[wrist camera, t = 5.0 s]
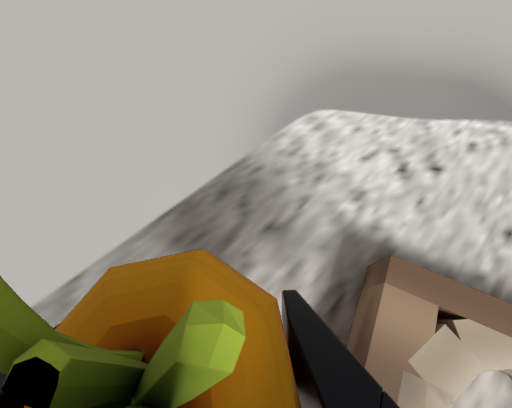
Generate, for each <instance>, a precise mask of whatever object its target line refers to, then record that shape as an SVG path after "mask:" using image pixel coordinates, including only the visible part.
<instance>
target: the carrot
mask: <svg viewBox="0 0 512 408" xmlns="http://www.w3.org/2000/svg"><path fill="white" fill-rule="evenodd" d="M0 372H1V373H3V374H5V375H7V377H6V379H5V382H4V384H3V386H2V388H1V390H2V391H3V392H5V393H6V394H8V395H9V396H11V397H13V398H14V399H16V400H17V401H19V402H20V403H21V404H23V405H24V408H301V404H300V400H299V395H298V391H297V386H296V382H295V377H294V373H293V368H292V364H291V360H290V355H289V351H288V346H287V342H286V337H285V333H284V328H283V324H282V320H281V315H280V311H279V306H278V302H277V299H276V298H275V297H273V296H272V295H271V294H269V293H268V292H266V291H265V290H263V289H262V288H260V287H259V286H257V285H256V284H255V283H253V282H252V281H250V280H249V279H247V278H246V277H244V276H243V275H242V274H240V273H239V272H237V271H236V270H234V269H233V268H231V267H230V266H228V265H227V264H226V263H224V262H223V261H221V260H220V259H218V258H217V257H215V256H214V255H213V254H211V253H210V252H208V251H207V250H205V249H199V250H194V251H189V252H184V253H179V254H174V255H169V256H165V257H160V258H155V259H150V260H145V261H140V262H135V263H131V264H126V265H121V266H116V267H111V268H109V269H108V270H107V272H106V273H105V274H104V275H103V276H102V277H101V278H100V279H99V281H98V282H97V283H96V284H95V285H94V286H93V287H92V288H91V290H90V291H89V292H88V293H87V294H86V295H85V296H84V297H83V299H82V300H81V301H80V302H79V303H78V304H77V305H76V306H75V308H74V309H73V310H72V311H71V312H70V313H69V314H68V315H67V317H66V318H65V319H64V320H63V321H62V322H61V323H60V324H59V326H58V327H57V328H56V329H54V328H52V327H51V326H50V325H49V324H48V323H47V322H46V321H45V320H44V319H42V318H41V317H40V316H39V315H38V314H37V313H36V312H35V311H33V310H32V309H31V308H30V307H29V306H28V305H27V304H26V303H25V302H23V301H22V299H21V298H20V297H19V296H18V295H17V294H16V293H15V292H14V291H13V290H12V288H11V287H10V286H9V285H8V284H7V283H6V282H5V281H4V280H3V279H2V277H1V276H0Z"/></svg>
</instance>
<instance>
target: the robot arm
mask: <svg viewBox="0 0 512 408" xmlns="http://www.w3.org/2000/svg"><path fill="white" fill-rule="evenodd" d="M282 320H283V328H284V333H285V337H286V342H287V346H288V351H289V355H290V360H291V364H292V368H293V373H294V377H295V382H296V386H297V391H298V395H299V400H300V404H301V408H400V407H399V406H398V405H397V403H396V402H395V401H394V400H393V399H392V398H391V397H390V396H389V394H388V393H387V392H386V391H383V388H382V387H381V386H380V384H379V383H378V382H377V381H376V380H375V379H374V378H373V377H372V375H371V374H370V373H369V372H368V371H367V370H366V369H365V367H364V366H363V365H362V364H361V363H360V362H359V361H358V360H357V358H356V357H355V356H354V355H353V354H352V353H351V352H350V351H349V349H348V348H347V347H346V346H345V345H344V344H343V343H342V342H341V340H340V339H339V338H338V337H337V336H336V335H335V334H334V332H333V331H332V330H331V329H330V328H329V327H328V326H327V325H326V323H325V322H324V321H323V320H322V319H321V318H320V317H319V316H318V314H317V313H316V312H315V311H314V310H313V309H312V308H311V307H310V305H309V304H308V303H307V302H306V301H305V300H304V299H303V297H302V296H301V295H300V294H299V293H298V292H297V291H296V290H283V291H282ZM58 326H59V325H57V326H56V327H54V329H56V328H57V327H58ZM6 377H7V375H5V374H3V373H1V372H0V408H24V405H23V404H21V403H20V402H19V401H17V400H16V399H14V398H13V397H11V396H9V395H8V394H6V393H5V392H3V391H2V390H1V388H2V386H3V384H4V382H5V379H6Z"/></svg>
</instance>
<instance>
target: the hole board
mask: <svg viewBox="0 0 512 408" xmlns="http://www.w3.org/2000/svg"><path fill="white" fill-rule="evenodd" d="M347 348H348V349H349V351H350V352H351V353H352V354H353V355H354V356H355V357H356V358H357V360H358V361H359V362H360V363H361V364H362V365H363V366H364V367H365V369H366V370H367V371H368V372H369V373H370V374H371V375H372V377H373V378H374V379H375V380H376V381H377V382H378V383H379V384H380V386H381V387H382V388H383V391H386V392H387V393H388V394H389V396H390V397H391V398H392V399H393V400H394V401H395V402H396V403H397V405H398V406H399V407H400V408H452V404H453V402H454V401H455V400H456V399H457V398H458V397H459V396H460V395H461V393H462V392H463V391H464V390H465V389H466V388H467V387H468V386H469V385H470V383H471V382H472V381H473V380H474V379H475V378H476V377H477V376H478V374H479V373H480V372H485V371H495V370H500V371H502V372H504V373H506V374H508V375H509V376H510V377H511V378H512V304H510V303H508V302H505V301H503V300H500V299H498V298H496V297H493V296H491V295H488V294H486V293H483V292H481V291H478V290H476V289H473V288H471V287H468V286H466V285H464V284H461V283H459V282H456V281H454V280H451V279H449V278H446V277H444V276H441V275H439V274H437V273H434V272H432V271H429V270H427V269H424V268H422V267H419V266H417V265H414V264H412V263H409V262H407V261H405V260H402V259H400V258H397V257H395V256H392V255H390V256H388V257H386V258H384V259H382V260H380V261H378V262H376V263H373V264H371V265H369V266H368V269H367V273H366V276H365V280H364V284H363V287H362V291H361V295H360V299H359V302H358V306H357V310H356V313H355V317H354V321H353V325H352V328H351V332H350V336H349V339H348V343H347Z"/></svg>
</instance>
